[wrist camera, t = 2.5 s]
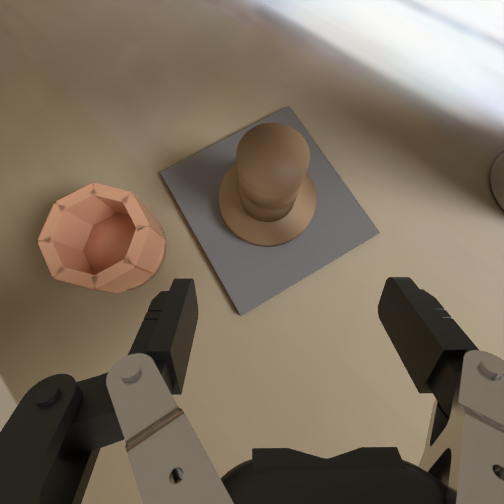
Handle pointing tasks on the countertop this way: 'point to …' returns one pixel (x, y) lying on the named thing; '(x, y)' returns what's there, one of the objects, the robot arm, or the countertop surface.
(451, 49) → the countertop surface
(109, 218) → the terracotta bowl
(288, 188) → the walnut lid
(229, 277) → the rubber mat
